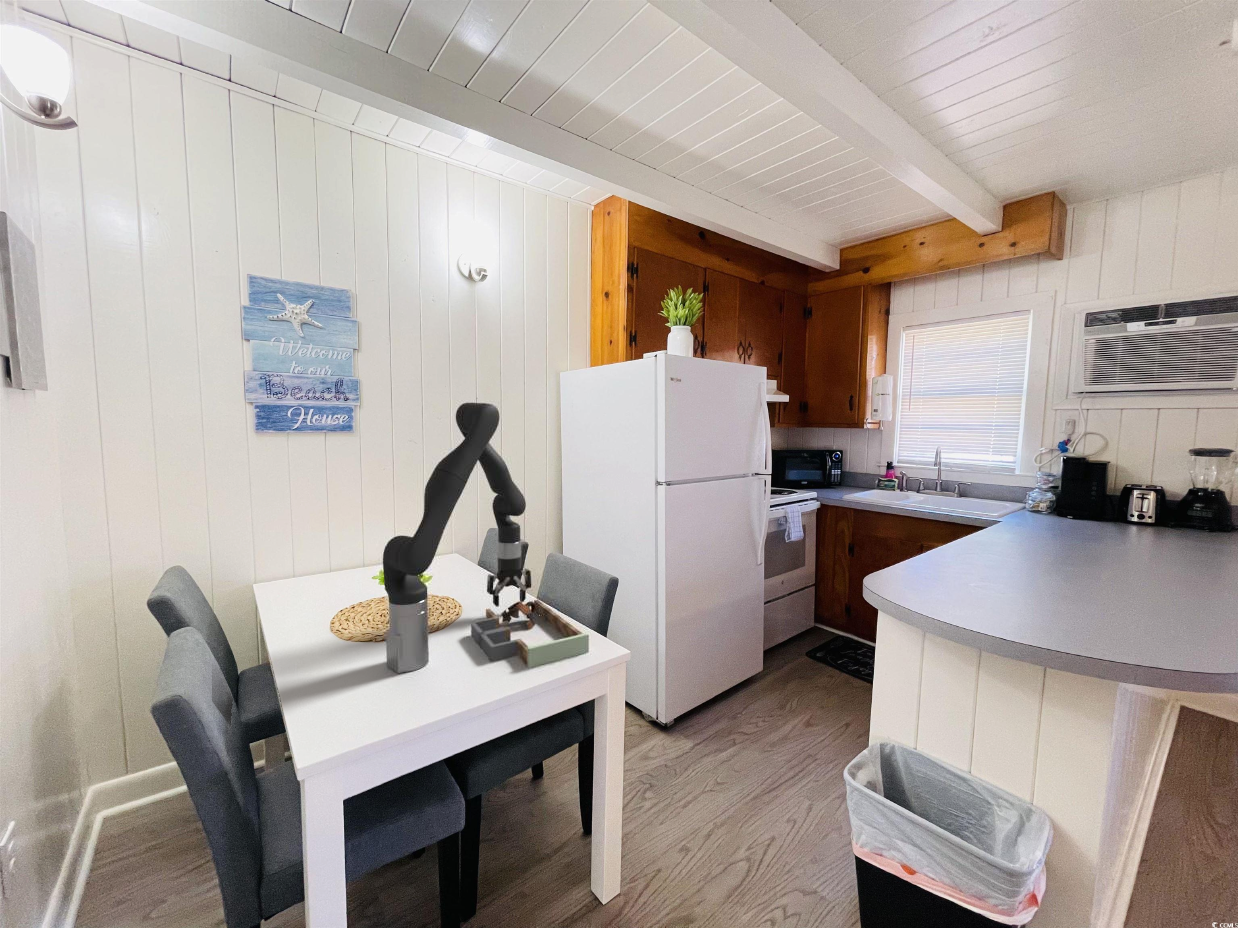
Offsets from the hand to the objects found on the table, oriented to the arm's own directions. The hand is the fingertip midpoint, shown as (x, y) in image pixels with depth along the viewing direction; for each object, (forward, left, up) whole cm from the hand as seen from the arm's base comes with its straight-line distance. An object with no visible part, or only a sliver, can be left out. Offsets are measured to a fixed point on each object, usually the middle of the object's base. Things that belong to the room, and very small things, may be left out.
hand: (509, 603), depth 165 cm
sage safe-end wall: (-11, -35, -4) cm, 37 cm away
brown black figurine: (-3, -9, -4) cm, 10 cm away
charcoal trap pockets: (-18, -15, -3) cm, 23 cm away
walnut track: (-6, -18, -4) cm, 20 cm away
